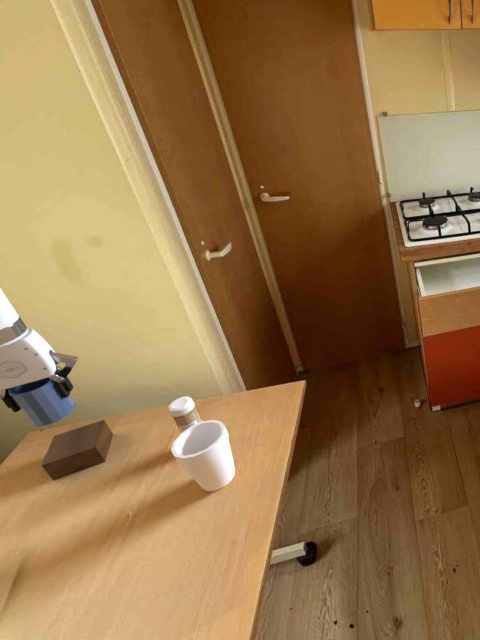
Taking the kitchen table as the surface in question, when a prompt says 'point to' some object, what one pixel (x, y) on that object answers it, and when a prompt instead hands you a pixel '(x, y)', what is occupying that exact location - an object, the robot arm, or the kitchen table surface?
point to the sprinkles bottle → (184, 413)
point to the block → (77, 449)
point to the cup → (41, 402)
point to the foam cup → (206, 454)
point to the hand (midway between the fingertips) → (44, 399)
